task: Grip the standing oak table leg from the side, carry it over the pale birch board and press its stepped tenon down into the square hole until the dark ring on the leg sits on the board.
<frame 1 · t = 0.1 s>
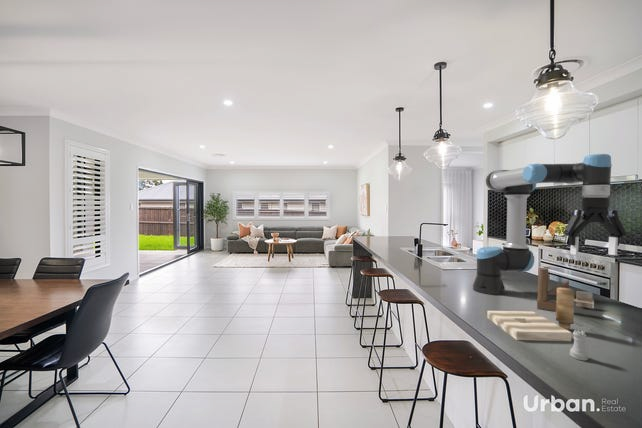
hand: (593, 254, 111), 28 cm above the kitchen island, tool pointing down, fingers open, 13 cm apart
rook chess piece: (578, 358, 91), on the kitchen island
architectural model: (584, 309, 135), on the kitchen island
birch board: (525, 328, 112), on the kitchen island
oak leg: (564, 329, 111), on the kitchen island
wooden post with wedge: (551, 310, 132), on the kitchen island
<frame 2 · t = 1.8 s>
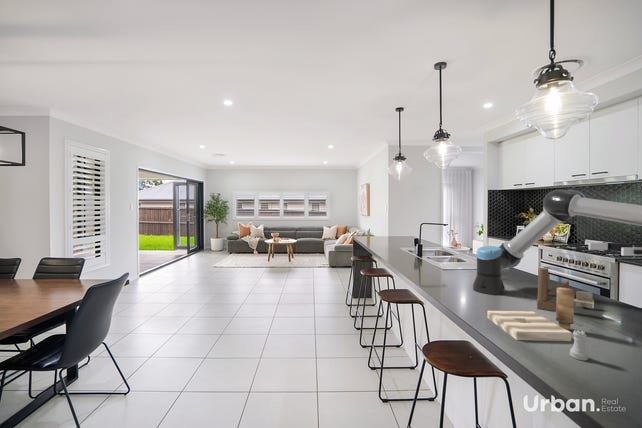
hand: (604, 248, 110), 30 cm above the kitchen island, tool horizontal, fingers open, 13 cm apart
nothing on the kitchen island moved.
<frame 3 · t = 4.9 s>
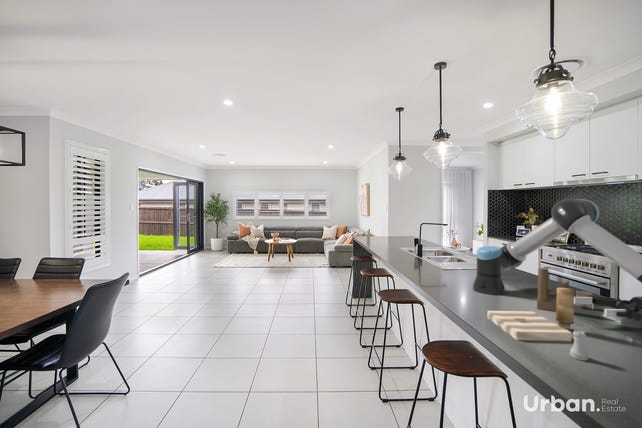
hand: (588, 306, 110), 9 cm above the kitchen island, tool horizontal, fingers open, 13 cm apart
nothing on the kitchen island moved.
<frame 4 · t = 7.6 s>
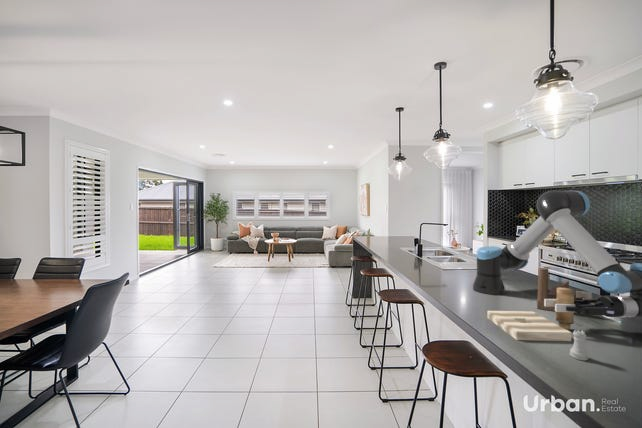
hand: (550, 305, 111), 9 cm above the kitchen island, tool horizontal, fingers closed on oak leg, 5 cm apart
oak leg: (564, 329, 111), on the kitchen island, touching gripper
everything else where it was.
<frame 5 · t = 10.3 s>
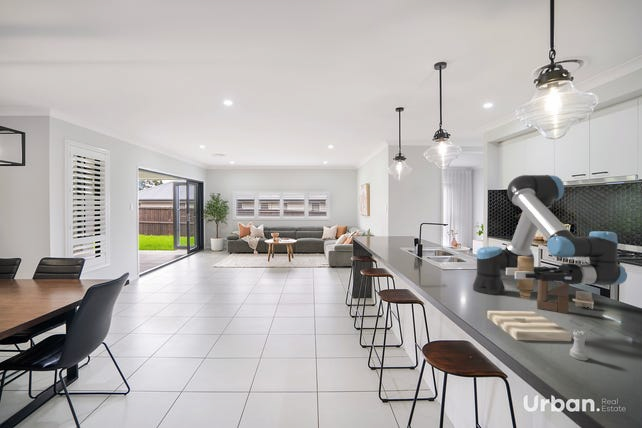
hand: (511, 273, 112), 21 cm above the kitchen island, tool horizontal, fingers closed on oak leg, 5 cm apart
oak leg: (525, 297, 112), point 12 cm above the kitchen island, touching gripper
everything else where it was.
when the fingers open (9 cm above the kitchen island, at t = 12.9 s): oak leg stays where it is, resting on birch board.
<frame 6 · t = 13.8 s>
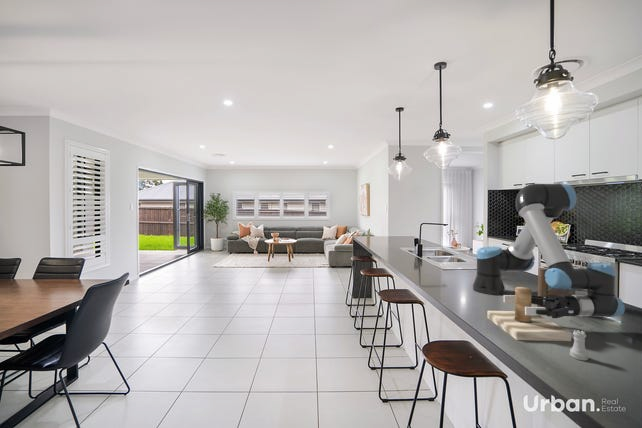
hand: (514, 304, 112), 9 cm above the kitchen island, tool horizontal, fingers open, 13 cm apart
oak leg: (522, 328, 112), resting on birch board
everything else where it was.
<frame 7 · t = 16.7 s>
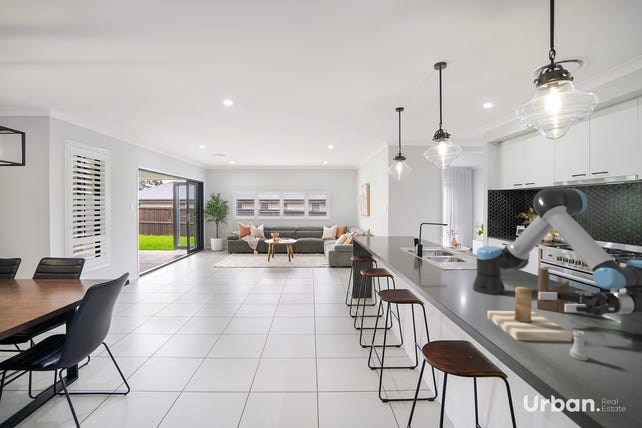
hand: (551, 301, 111), 10 cm above the kitchen island, tool horizontal, fingers open, 13 cm apart
nothing on the kitchen island moved.
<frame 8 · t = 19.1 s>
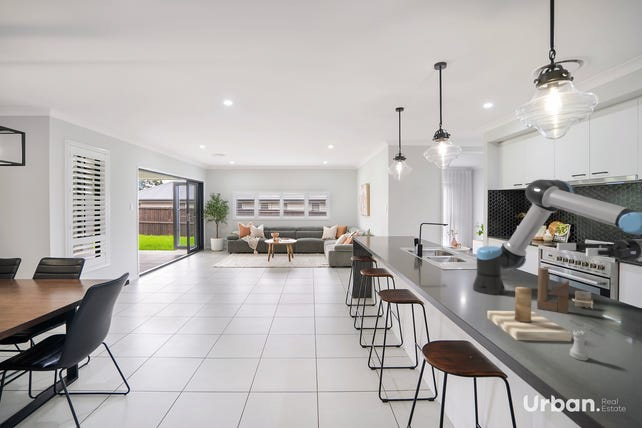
hand: (571, 249, 110), 30 cm above the kitchen island, tool horizontal, fingers open, 13 cm apart
nothing on the kitchen island moved.
at the end: oak leg 0.0 cm from the target spot on the birch board, point 0.0 cm above the birch board's base; oak leg tilted 0°; the gripper is holding nothing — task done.
